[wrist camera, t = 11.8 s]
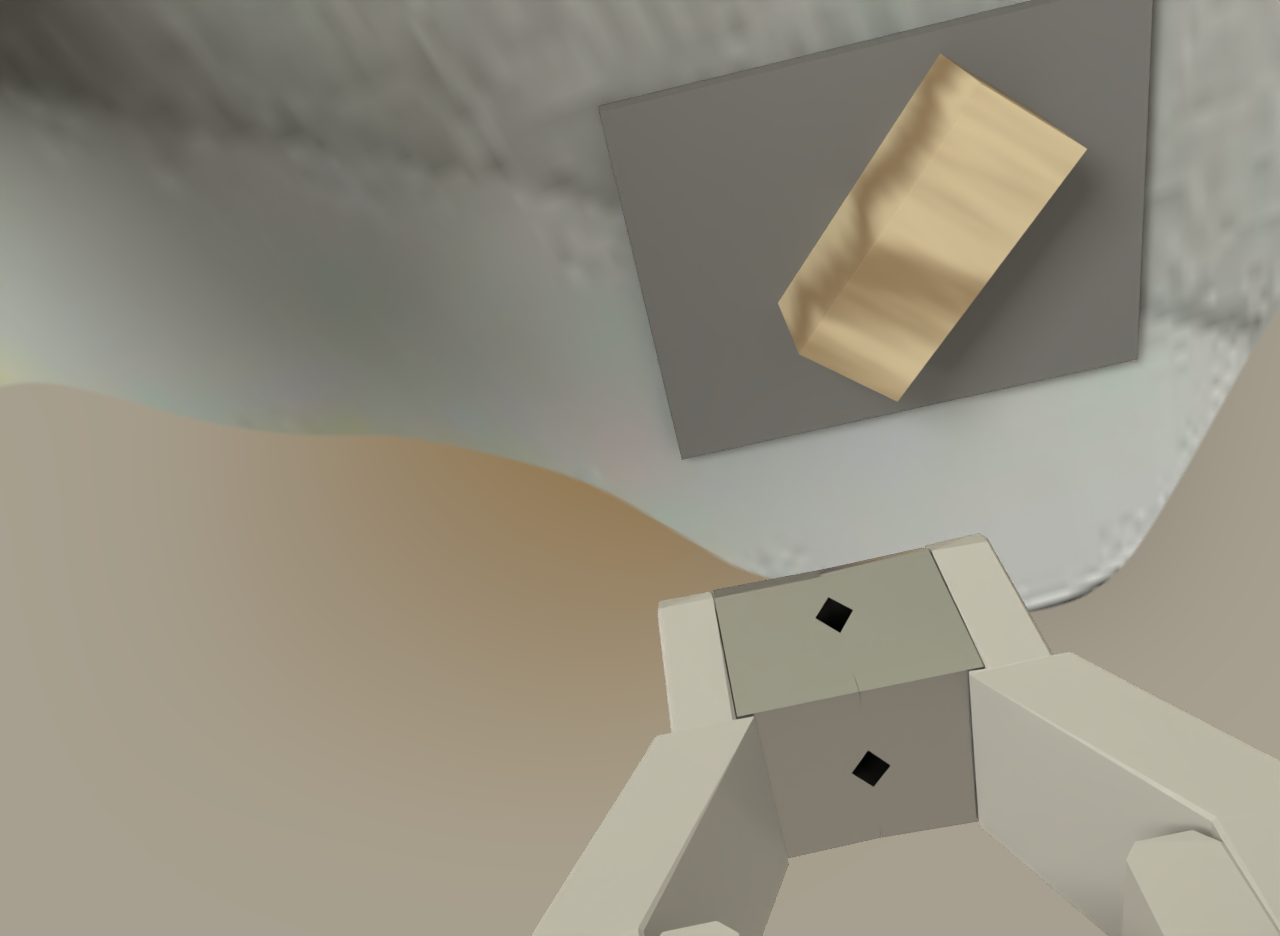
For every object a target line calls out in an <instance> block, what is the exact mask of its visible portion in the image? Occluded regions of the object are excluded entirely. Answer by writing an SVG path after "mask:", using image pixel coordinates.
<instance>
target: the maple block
mask: <svg viewBox="0 0 1280 936" xmlns="http://www.w3.org/2000/svg"><path fill="white" fill-rule="evenodd" d="M1086 150H1087V148H1085V147H1084V146H1082V145H1081V144H1080V143H1078V142H1077V141H1075V140H1074V139H1073V138H1071V137H1070V136H1068V135H1067V134H1066V133H1064V132H1063V131H1061V130H1060V129H1059V128H1057V127H1056V126H1054V125H1053V124H1052V123H1050V122H1049V121H1047V120H1046V119H1045V118H1043V117H1042V116H1040V115H1039V114H1038V113H1036V112H1034V111H1033V110H1031V109H1030V108H1028V107H1026V106H1025V105H1023V104H1022V103H1020V102H1018V101H1017V100H1015V99H1013V98H1012V97H1010V96H1009V95H1007V94H1005V93H1004V92H1002V91H1001V90H999V89H997V88H996V87H994V86H992V85H991V84H989V83H988V82H986V81H984V80H983V79H981V78H979V77H978V76H976V75H975V74H973V73H971V72H970V71H968V70H967V69H965V68H963V67H962V66H960V65H958V64H957V63H955V62H954V61H952V60H950V59H949V58H947V57H946V56H944V55H942V54H941V53H940V54H939V56H938V58H937V59H936V61H935V62H934V64H933V65H932V67H931V68H930V70H929V71H928V73H927V74H926V76H925V78H924V79H923V81H922V82H921V84H920V85H919V87H918V88H917V90H916V91H915V93H914V94H913V96H912V98H911V99H910V101H909V102H908V104H907V105H906V107H905V108H904V110H903V111H902V113H901V114H900V116H899V117H898V119H897V121H896V122H895V124H894V125H893V127H892V128H891V130H890V131H889V133H888V134H887V136H886V137H885V139H884V141H883V142H882V144H881V145H880V147H879V148H878V150H877V151H876V153H875V154H874V156H873V157H872V159H871V161H870V162H869V164H868V165H867V167H866V168H865V170H864V171H863V173H862V174H861V176H860V177H859V179H858V181H857V182H856V184H855V185H854V187H853V188H852V190H851V191H850V193H849V194H848V196H847V197H846V199H845V200H844V202H843V204H842V205H841V207H840V208H839V210H838V211H837V213H836V214H835V216H834V217H833V219H832V220H831V222H830V224H829V225H828V227H827V228H826V230H825V231H824V233H823V234H822V236H821V237H820V239H819V240H818V242H817V244H816V245H815V247H814V248H813V250H812V251H811V253H810V254H809V256H808V257H807V259H806V260H805V262H804V264H803V265H802V267H801V268H800V270H799V271H798V273H797V274H796V276H795V277H794V279H793V280H792V282H791V283H790V285H789V287H788V288H787V290H786V291H785V293H784V294H783V296H782V297H781V299H780V300H779V302H778V305H779V307H780V309H781V312H782V314H783V317H784V319H785V322H786V324H787V326H788V329H789V331H790V334H791V336H792V338H793V341H794V343H795V346H796V348H797V350H798V353H799V354H800V355H802V356H804V357H806V358H808V359H810V360H812V361H814V362H816V363H818V364H821V365H823V366H825V367H827V368H829V369H831V370H833V371H835V372H837V373H839V374H841V375H843V376H845V377H847V378H849V379H852V380H854V381H856V382H858V383H860V384H862V385H864V386H866V387H868V388H870V389H872V390H874V391H876V392H878V393H880V394H883V395H885V396H887V397H889V398H891V399H893V400H895V401H897V402H898V400H899V399H900V398H901V396H902V395H903V394H904V392H905V391H906V390H907V388H908V387H909V386H910V384H911V383H912V382H913V380H914V379H915V378H916V376H917V375H918V374H919V372H920V371H921V370H922V368H923V367H924V366H925V364H926V363H927V362H928V360H929V359H930V358H931V356H932V355H933V354H934V352H935V351H936V350H937V348H938V347H939V346H940V344H941V343H942V342H943V340H944V339H945V338H946V336H947V335H948V334H949V332H950V331H951V330H952V328H953V327H954V326H955V324H956V323H957V322H958V320H959V319H960V318H961V317H962V315H963V314H964V313H965V311H966V310H967V309H968V307H969V306H970V305H971V303H972V302H973V301H974V299H975V298H976V297H977V295H978V294H979V293H980V291H981V290H982V289H983V287H984V286H985V285H986V283H987V282H988V281H989V279H990V278H991V277H992V275H993V274H994V273H995V271H996V270H997V269H998V267H999V266H1000V265H1001V263H1002V262H1003V261H1004V259H1005V258H1006V257H1007V255H1008V254H1009V253H1010V251H1011V250H1012V249H1013V247H1014V246H1015V245H1016V243H1017V242H1018V241H1019V239H1020V238H1021V237H1022V235H1023V234H1024V233H1025V231H1026V230H1027V229H1028V227H1029V226H1030V225H1031V223H1032V222H1033V221H1034V219H1035V218H1036V217H1037V215H1038V214H1039V213H1040V211H1041V210H1042V209H1043V207H1044V206H1045V205H1046V203H1047V202H1048V201H1049V199H1050V198H1051V197H1052V195H1053V194H1054V193H1055V191H1056V190H1057V189H1058V187H1059V186H1060V185H1061V183H1062V182H1063V181H1064V179H1065V178H1066V177H1067V175H1068V174H1069V173H1070V171H1071V170H1072V169H1073V167H1074V166H1075V165H1076V163H1077V162H1078V161H1079V159H1080V158H1081V157H1082V155H1083V154H1084V153H1085V151H1086Z"/></svg>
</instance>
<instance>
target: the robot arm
mask: <svg viewBox="0 0 1280 936" xmlns="http://www.w3.org/2000/svg"><path fill="white" fill-rule="evenodd" d="M713 592H714V596H713V593H712V592H705V593H700V594H695V595H690V596H684V597H680V598H674V599H669V600H664V601H659V607H658V621H659V629H660V639H661V648H662V656H663V664H664V673H665V682H666V689H667V698H668V707H669V716H670V725H671V733H668V734H664V735H659V736H655V738H654V739H653V741H652V743H651V744H650V746H649V747H648V749H647V751H646V752H645V754H644V755H643V757H642V759H641V760H640V762H639V763H638V765H637V767H636V768H635V770H634V772H633V773H632V775H631V776H630V778H629V780H628V781H627V783H626V785H625V786H624V788H623V789H622V791H621V793H620V794H619V796H618V797H617V799H616V800H615V802H614V804H613V805H612V807H611V808H610V810H609V812H608V813H607V815H606V816H605V818H604V820H603V821H602V823H601V825H600V826H599V828H598V830H597V831H596V833H595V834H594V836H593V837H592V839H591V841H590V842H589V844H588V845H587V847H586V849H585V850H584V852H583V853H582V855H581V857H580V858H579V860H578V862H577V863H576V865H575V866H574V868H573V869H572V871H571V873H570V874H569V876H568V878H567V879H566V881H565V883H564V884H563V886H562V887H561V889H560V890H559V892H558V894H557V895H556V897H555V898H554V900H553V902H552V903H551V905H550V906H549V908H548V910H547V912H546V913H545V914H544V916H543V918H542V919H541V921H540V923H539V924H538V926H537V927H536V929H535V931H534V932H533V934H532V936H762V935H763V932H764V930H765V926H766V924H767V921H768V919H769V916H770V913H771V911H772V908H773V905H774V903H775V900H776V897H777V894H778V891H779V889H780V886H781V884H782V881H783V878H784V875H785V873H786V870H787V867H788V865H789V864H788V859H787V858H791V857H796V856H800V855H805V854H809V853H814V852H818V851H823V850H827V849H832V848H836V847H840V846H845V845H850V844H854V843H858V842H863V841H867V840H872V839H876V838H881V837H887V836H893V835H899V834H905V833H911V832H917V831H923V830H929V829H935V828H941V827H947V826H953V825H959V824H965V823H971V822H977V821H979V826H980V827H981V828H982V829H983V830H984V831H986V832H987V833H988V834H989V835H990V836H991V837H993V838H994V839H995V840H996V841H997V842H999V843H1000V844H1001V845H1002V846H1003V847H1004V848H1006V849H1007V850H1008V851H1009V852H1010V853H1011V854H1013V855H1014V856H1015V857H1016V858H1017V859H1019V860H1020V861H1021V862H1022V863H1023V864H1024V865H1026V866H1027V867H1028V868H1029V869H1030V870H1032V871H1033V872H1034V873H1035V874H1036V875H1038V876H1039V877H1040V878H1041V879H1042V880H1043V881H1045V882H1046V883H1047V884H1048V885H1049V886H1050V887H1052V888H1053V889H1054V890H1055V891H1056V892H1057V893H1059V894H1060V895H1061V896H1062V897H1063V898H1065V899H1066V900H1067V901H1068V902H1069V903H1070V904H1072V905H1073V906H1074V907H1075V908H1076V909H1077V910H1079V911H1080V912H1081V913H1082V914H1083V915H1085V916H1086V917H1087V918H1088V919H1089V920H1090V921H1092V922H1093V923H1094V924H1095V925H1096V926H1098V927H1099V928H1100V929H1101V930H1102V931H1103V932H1105V933H1106V934H1107V935H1108V936H1280V761H1279V760H1277V759H1275V758H1273V757H1272V756H1270V755H1268V754H1266V753H1264V752H1262V751H1260V750H1258V749H1256V748H1254V747H1252V746H1251V745H1249V744H1247V743H1245V742H1243V741H1241V740H1239V739H1237V738H1235V737H1233V736H1231V735H1229V734H1227V733H1226V732H1224V731H1222V730H1220V729H1218V728H1216V727H1214V726H1212V725H1210V724H1208V723H1206V722H1205V721H1203V720H1201V719H1199V718H1197V717H1195V716H1193V715H1191V714H1189V713H1187V712H1185V711H1183V710H1181V709H1180V708H1177V707H1176V706H1174V705H1172V704H1170V703H1168V702H1166V701H1164V700H1162V699H1160V698H1159V697H1157V696H1155V695H1153V694H1151V693H1149V692H1147V691H1145V690H1143V689H1141V688H1139V687H1137V686H1135V685H1134V684H1132V683H1130V682H1128V681H1125V680H1124V679H1122V678H1120V677H1118V676H1116V675H1114V674H1113V673H1111V672H1109V671H1107V670H1105V669H1103V668H1101V667H1099V666H1097V665H1095V664H1093V663H1091V662H1089V661H1087V660H1086V659H1084V658H1082V657H1080V656H1078V655H1076V654H1074V653H1072V652H1067V653H1061V654H1056V655H1053V653H1052V652H1051V650H1050V648H1049V646H1048V645H1047V643H1046V641H1045V639H1044V637H1043V636H1042V634H1041V632H1040V631H1039V629H1038V627H1037V625H1036V623H1035V621H1034V620H1033V618H1032V616H1031V614H1030V613H1029V611H1028V609H1027V607H1026V606H1025V604H1024V602H1023V600H1022V599H1021V597H1020V595H1019V593H1018V591H1017V590H1016V588H1015V586H1014V584H1013V583H1012V581H1011V579H1010V577H1009V576H1008V574H1007V572H1006V570H1005V569H1004V567H1003V565H1002V563H1001V561H1000V560H999V558H998V556H997V554H996V553H995V551H994V549H993V547H992V546H991V544H990V542H989V540H988V539H987V538H986V537H984V536H983V535H981V534H980V533H978V534H974V535H969V536H965V537H961V538H957V539H952V540H948V541H944V542H939V543H935V544H931V545H927V546H925V548H919V549H914V550H909V551H905V552H900V553H896V554H891V555H887V556H882V557H877V558H873V559H868V560H864V561H859V562H855V563H850V564H845V565H841V566H836V567H832V568H827V569H822V570H817V571H812V572H806V573H801V574H796V575H791V576H785V577H780V578H775V579H769V580H764V581H759V582H753V583H748V584H743V585H738V586H732V587H727V588H722V589H716V590H713ZM714 599H715V600H714Z"/></svg>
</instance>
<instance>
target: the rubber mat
mask: <svg viewBox="0 0 1280 936" xmlns="http://www.w3.org/2000/svg"><path fill="white" fill-rule="evenodd" d="M1152 5H1153V0H1032V1H1028V2H1023V3H1019V4H1015V5H1011V6H1007V7H1003V8H999V9H995V10H991V11H987V12H982V13H978V14H974V15H970V16H966V17H962V18H958V19H954V20H950V21H946V22H941V23H937V24H933V25H929V26H925V27H921V28H917V29H913V30H909V31H905V32H900V33H896V34H892V35H888V36H884V37H880V38H876V39H872V40H868V41H864V42H859V43H855V44H851V45H847V46H843V47H839V48H835V49H831V50H827V51H823V52H818V53H814V54H810V55H806V56H802V57H798V58H794V59H790V60H786V61H782V62H777V63H773V64H769V65H765V66H761V67H757V68H753V69H749V70H745V71H741V72H736V73H732V74H728V75H724V76H720V77H716V78H712V79H708V80H704V81H700V82H695V83H691V84H687V85H683V86H679V87H675V88H671V89H667V90H663V91H659V92H654V93H650V94H646V95H642V96H638V97H634V98H630V99H626V100H622V101H618V102H613V103H609V104H605V105H601V106H599V113H600V117H601V122H602V126H603V130H604V134H605V138H606V143H607V147H608V151H609V155H610V159H611V164H612V168H613V172H614V176H615V180H616V185H617V189H618V193H619V197H620V201H621V206H622V210H623V214H624V218H625V222H626V227H627V231H628V235H629V239H630V243H631V248H632V252H633V256H634V260H635V264H636V269H637V273H638V277H639V281H640V285H641V290H642V294H643V298H644V302H645V306H646V311H647V315H648V319H649V323H650V327H651V332H652V336H653V340H654V344H655V348H656V353H657V357H658V361H659V365H660V369H661V374H662V378H663V382H664V386H665V390H666V395H667V399H668V403H669V407H670V411H671V416H672V420H673V424H674V428H675V432H676V437H677V441H678V445H679V449H680V454H681V458H682V460H683V459H687V458H692V457H696V456H701V455H706V454H710V453H715V452H719V451H724V450H728V449H733V448H737V447H742V446H746V445H751V444H755V443H760V442H764V441H769V440H773V439H778V438H783V437H787V436H792V435H796V434H801V433H805V432H810V431H814V430H819V429H823V428H828V427H832V426H837V425H841V424H846V423H851V422H855V421H860V420H864V419H869V418H873V417H878V416H882V415H887V414H891V413H896V412H900V411H905V410H909V409H914V408H918V407H923V406H928V405H932V404H937V403H941V402H946V401H950V400H955V399H959V398H964V397H968V396H973V395H977V394H982V393H986V392H991V391H995V390H1000V389H1005V388H1009V387H1014V386H1018V385H1023V384H1027V383H1032V382H1036V381H1041V380H1045V379H1050V378H1054V377H1059V376H1063V375H1068V374H1072V373H1077V372H1082V371H1086V370H1091V369H1095V368H1100V367H1104V366H1109V365H1113V364H1118V363H1122V362H1127V361H1131V360H1136V359H1137V349H1138V326H1139V303H1140V280H1141V258H1142V235H1143V212H1144V189H1145V166H1146V143H1147V120H1148V97H1149V74H1150V51H1151V28H1152ZM940 53H941V54H942V55H944V56H946V57H947V58H949V59H950V60H952V61H954V62H955V63H957V64H958V65H960V66H962V67H963V68H965V69H967V70H968V71H970V72H971V73H973V74H975V75H976V76H978V77H979V78H981V79H983V80H984V81H986V82H988V83H989V84H991V85H992V86H994V87H996V88H997V89H999V90H1001V91H1002V92H1004V93H1005V94H1007V95H1009V96H1010V97H1012V98H1013V99H1015V100H1017V101H1018V102H1020V103H1022V104H1023V105H1025V106H1026V107H1028V108H1030V109H1031V110H1033V111H1034V112H1036V113H1038V114H1039V115H1040V116H1042V117H1043V118H1045V119H1046V120H1047V121H1049V122H1050V123H1052V124H1053V125H1054V126H1056V127H1057V128H1059V129H1060V130H1061V131H1063V132H1064V133H1066V134H1067V135H1068V136H1070V137H1071V138H1073V139H1074V140H1075V141H1077V142H1078V143H1080V144H1081V145H1082V146H1084V147H1085V148H1087V150H1086V151H1085V153H1084V154H1083V155H1082V157H1081V158H1080V159H1079V161H1078V162H1077V163H1076V165H1075V166H1074V167H1073V169H1072V170H1071V171H1070V173H1069V174H1068V175H1067V177H1066V178H1065V179H1064V181H1063V182H1062V183H1061V185H1060V186H1059V187H1058V189H1057V190H1056V191H1055V193H1054V194H1053V195H1052V197H1051V198H1050V199H1049V201H1048V202H1047V203H1046V205H1045V206H1044V207H1043V209H1042V210H1041V211H1040V213H1039V214H1038V215H1037V217H1036V218H1035V219H1034V221H1033V222H1032V223H1031V225H1030V226H1029V227H1028V229H1027V230H1026V231H1025V233H1024V234H1023V235H1022V237H1021V238H1020V239H1019V241H1018V242H1017V243H1016V245H1015V246H1014V247H1013V249H1012V250H1011V251H1010V253H1009V254H1008V255H1007V257H1006V258H1005V259H1004V261H1003V262H1002V263H1001V265H1000V266H999V267H998V269H997V270H996V271H995V273H994V274H993V275H992V277H991V278H990V279H989V281H988V282H987V283H986V285H985V286H984V287H983V289H982V290H981V291H980V293H979V294H978V295H977V297H976V298H975V299H974V301H973V302H972V303H971V305H970V306H969V307H968V309H967V310H966V311H965V313H964V314H963V315H962V317H961V318H960V319H959V320H958V322H957V323H956V324H955V326H954V327H953V328H952V330H951V331H950V332H949V334H948V335H947V336H946V338H945V339H944V340H943V342H942V343H941V344H940V346H939V347H938V348H937V350H936V351H935V352H934V354H933V355H932V356H931V358H930V359H929V360H928V362H927V363H926V364H925V366H924V367H923V368H922V370H921V371H920V372H919V374H918V375H917V376H916V378H915V379H914V380H913V382H912V383H911V384H910V386H909V387H908V388H907V390H906V391H905V392H904V394H903V395H902V396H901V398H900V399H899V400H898V402H897V401H895V400H893V399H891V398H889V397H887V396H885V395H883V394H880V393H878V392H876V391H874V390H872V389H870V388H868V387H866V386H864V385H862V384H860V383H858V382H856V381H854V380H852V379H849V378H847V377H845V376H843V375H841V374H839V373H837V372H835V371H833V370H831V369H829V368H827V367H825V366H823V365H821V364H818V363H816V362H814V361H812V360H810V359H808V358H806V357H804V356H802V355H800V354H799V353H798V350H797V348H796V346H795V343H794V341H793V338H792V336H791V334H790V331H789V329H788V326H787V324H786V322H785V319H784V317H783V314H782V312H781V309H780V307H779V305H778V302H779V300H780V299H781V297H782V296H783V294H784V293H785V291H786V290H787V288H788V287H789V285H790V283H791V282H792V280H793V279H794V277H795V276H796V274H797V273H798V271H799V270H800V268H801V267H802V265H803V264H804V262H805V260H806V259H807V257H808V256H809V254H810V253H811V251H812V250H813V248H814V247H815V245H816V244H817V242H818V240H819V239H820V237H821V236H822V234H823V233H824V231H825V230H826V228H827V227H828V225H829V224H830V222H831V220H832V219H833V217H834V216H835V214H836V213H837V211H838V210H839V208H840V207H841V205H842V204H843V202H844V200H845V199H846V197H847V196H848V194H849V193H850V191H851V190H852V188H853V187H854V185H855V184H856V182H857V181H858V179H859V177H860V176H861V174H862V173H863V171H864V170H865V168H866V167H867V165H868V164H869V162H870V161H871V159H872V157H873V156H874V154H875V153H876V151H877V150H878V148H879V147H880V145H881V144H882V142H883V141H884V139H885V137H886V136H887V134H888V133H889V131H890V130H891V128H892V127H893V125H894V124H895V122H896V121H897V119H898V117H899V116H900V114H901V113H902V111H903V110H904V108H905V107H906V105H907V104H908V102H909V101H910V99H911V98H912V96H913V94H914V93H915V91H916V90H917V88H918V87H919V85H920V84H921V82H922V81H923V79H924V78H925V76H926V74H927V73H928V71H929V70H930V68H931V67H932V65H933V64H934V62H935V61H936V59H937V58H938V56H939V54H940Z"/></svg>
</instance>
